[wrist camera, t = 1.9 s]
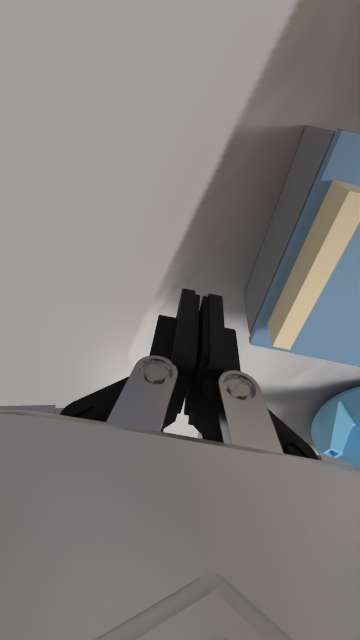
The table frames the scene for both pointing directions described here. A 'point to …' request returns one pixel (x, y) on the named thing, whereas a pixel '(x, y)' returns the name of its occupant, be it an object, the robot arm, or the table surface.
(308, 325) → the lid
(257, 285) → the base
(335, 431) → the teapot
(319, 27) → the table surface
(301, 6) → the table surface
